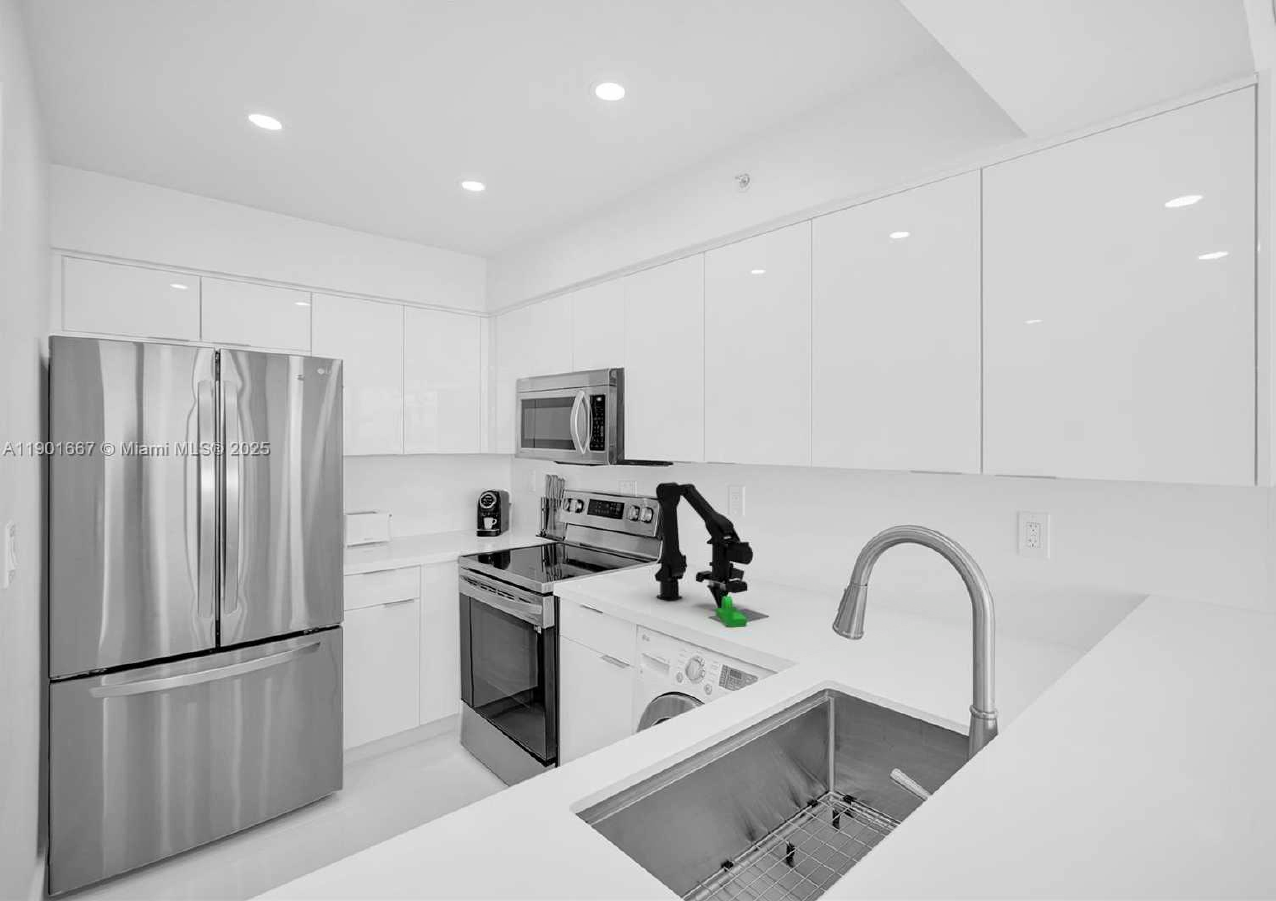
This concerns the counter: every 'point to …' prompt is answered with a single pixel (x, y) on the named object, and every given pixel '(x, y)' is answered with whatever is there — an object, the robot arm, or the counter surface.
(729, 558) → the robot arm
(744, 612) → the tool mat
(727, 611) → the mechanical part
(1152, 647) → the counter surface
